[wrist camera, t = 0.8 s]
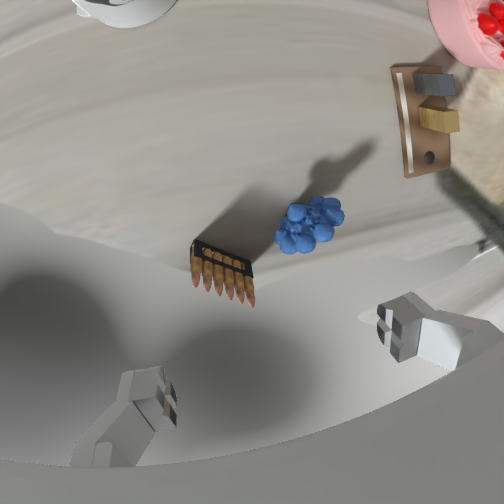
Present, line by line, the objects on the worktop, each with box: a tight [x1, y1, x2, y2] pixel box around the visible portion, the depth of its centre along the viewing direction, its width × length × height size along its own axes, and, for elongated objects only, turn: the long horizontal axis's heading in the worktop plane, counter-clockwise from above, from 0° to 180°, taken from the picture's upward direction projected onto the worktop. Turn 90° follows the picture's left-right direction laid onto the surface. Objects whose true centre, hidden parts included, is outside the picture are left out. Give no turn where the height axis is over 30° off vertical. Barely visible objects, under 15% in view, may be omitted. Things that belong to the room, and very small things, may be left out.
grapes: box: [274, 196, 345, 254], centre depth 45 cm, size 12×7×12 cm, turn 132°
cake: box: [428, 0, 504, 70], centre depth 29 cm, size 20×20×14 cm
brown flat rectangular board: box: [390, 66, 450, 179], centre depth 44 cm, size 20×11×1 cm, turn 14°
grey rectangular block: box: [412, 73, 456, 96], centre depth 37 cm, size 4×4×7 cm
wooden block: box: [419, 106, 460, 133], centre depth 40 cm, size 4×4×7 cm
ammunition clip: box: [190, 240, 255, 307], centre depth 48 cm, size 11×2×12 cm, turn 62°
